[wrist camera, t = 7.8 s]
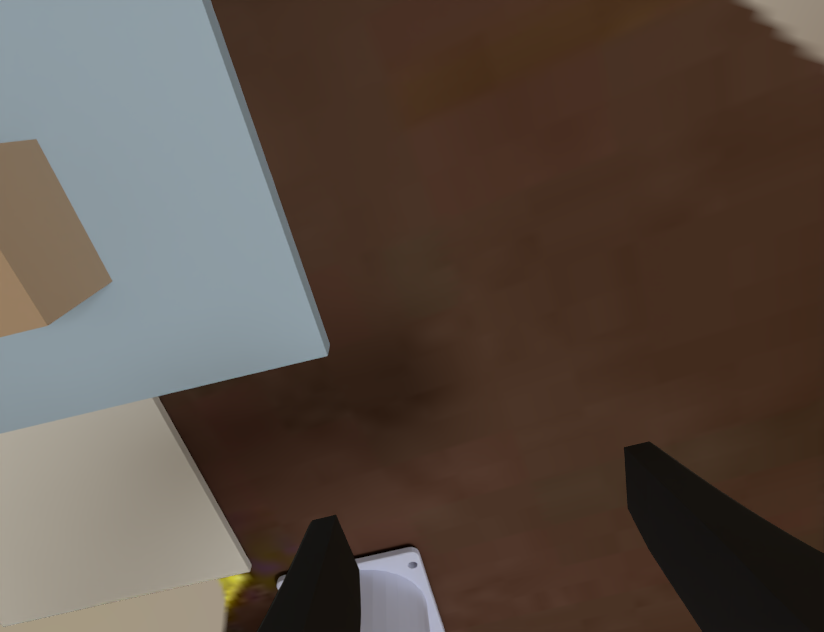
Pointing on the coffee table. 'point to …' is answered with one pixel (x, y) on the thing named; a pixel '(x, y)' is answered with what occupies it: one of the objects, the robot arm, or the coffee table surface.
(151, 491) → the mat
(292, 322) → the cover
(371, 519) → the coffee table surface
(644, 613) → the coffee table surface
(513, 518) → the coffee table surface
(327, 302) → the coffee table surface
